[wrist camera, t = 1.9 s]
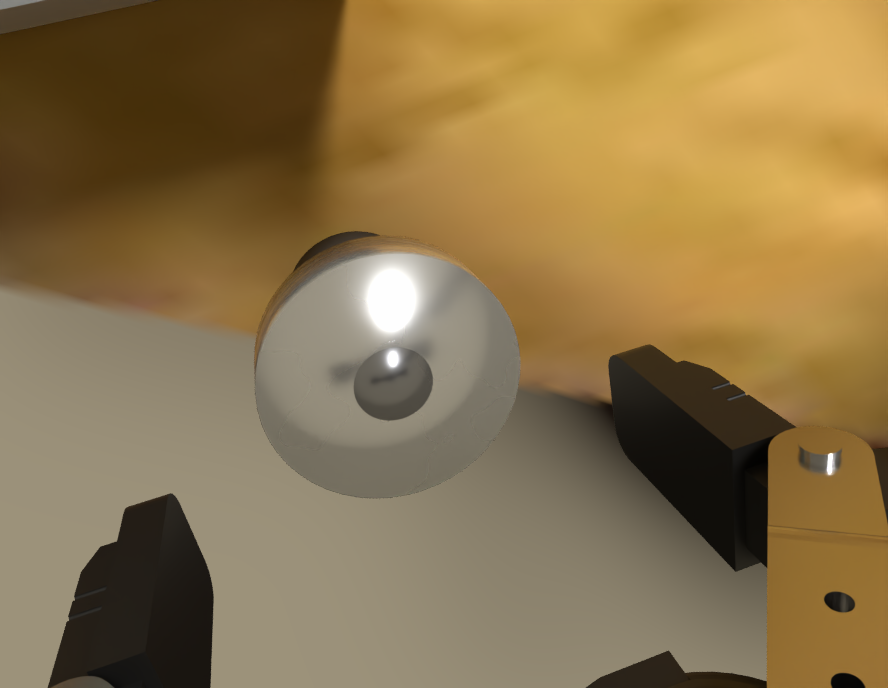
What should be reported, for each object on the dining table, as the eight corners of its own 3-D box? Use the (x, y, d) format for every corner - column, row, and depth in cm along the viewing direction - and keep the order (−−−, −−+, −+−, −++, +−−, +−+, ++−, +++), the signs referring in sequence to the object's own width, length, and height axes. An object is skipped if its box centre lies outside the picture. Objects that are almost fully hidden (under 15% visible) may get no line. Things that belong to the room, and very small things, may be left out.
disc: (475, 206, 17) (496, 222, 15) (515, 422, 19) (537, 453, 18) (218, 275, 16) (215, 300, 14) (296, 492, 18) (300, 531, 17)
